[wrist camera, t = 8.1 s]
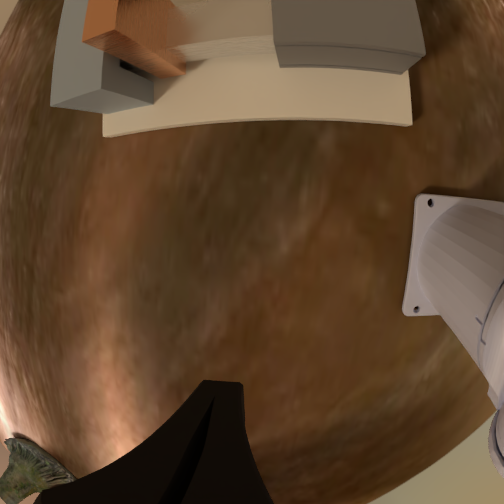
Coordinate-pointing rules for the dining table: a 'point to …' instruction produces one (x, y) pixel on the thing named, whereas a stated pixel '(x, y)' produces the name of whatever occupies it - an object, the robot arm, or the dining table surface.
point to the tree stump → (30, 471)
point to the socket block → (92, 71)
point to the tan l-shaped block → (177, 32)
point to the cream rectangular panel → (297, 71)
